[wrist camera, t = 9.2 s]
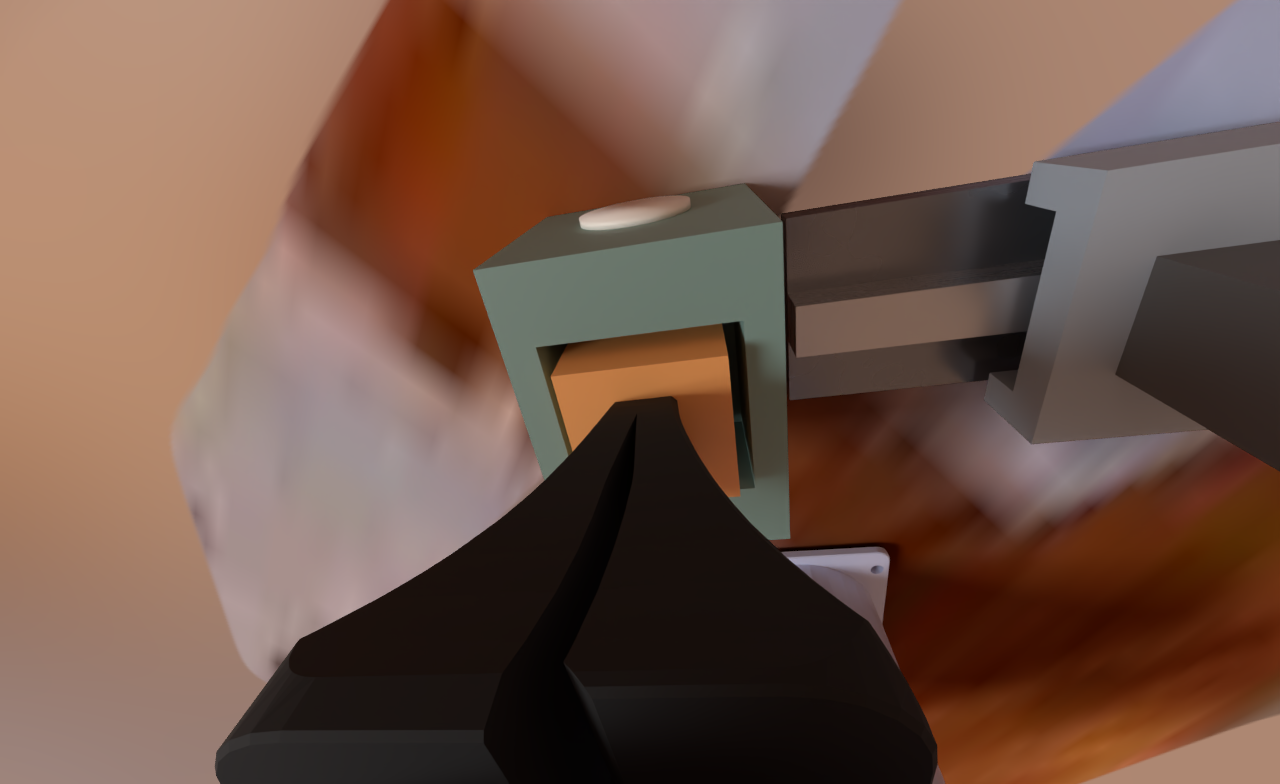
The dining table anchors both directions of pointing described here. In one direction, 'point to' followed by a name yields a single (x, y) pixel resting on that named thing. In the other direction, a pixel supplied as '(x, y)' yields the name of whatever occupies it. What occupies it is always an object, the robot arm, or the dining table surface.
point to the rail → (911, 288)
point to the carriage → (1156, 295)
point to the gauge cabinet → (654, 314)
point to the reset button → (656, 388)
